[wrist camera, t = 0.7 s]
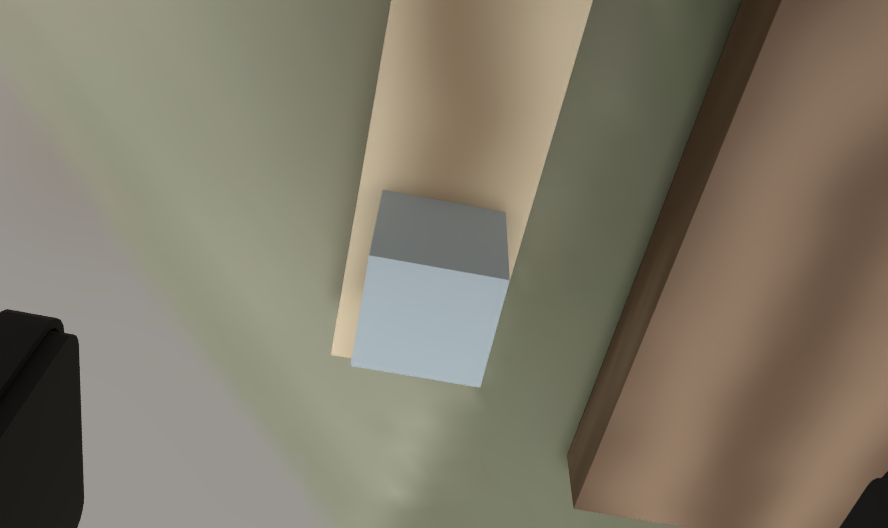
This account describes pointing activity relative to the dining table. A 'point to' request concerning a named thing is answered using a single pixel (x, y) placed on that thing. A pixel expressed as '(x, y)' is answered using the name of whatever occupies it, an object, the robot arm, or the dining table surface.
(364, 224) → the beige rectangular bar
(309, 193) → the dining table surface
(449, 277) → the block
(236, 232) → the dining table surface
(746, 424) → the dock
